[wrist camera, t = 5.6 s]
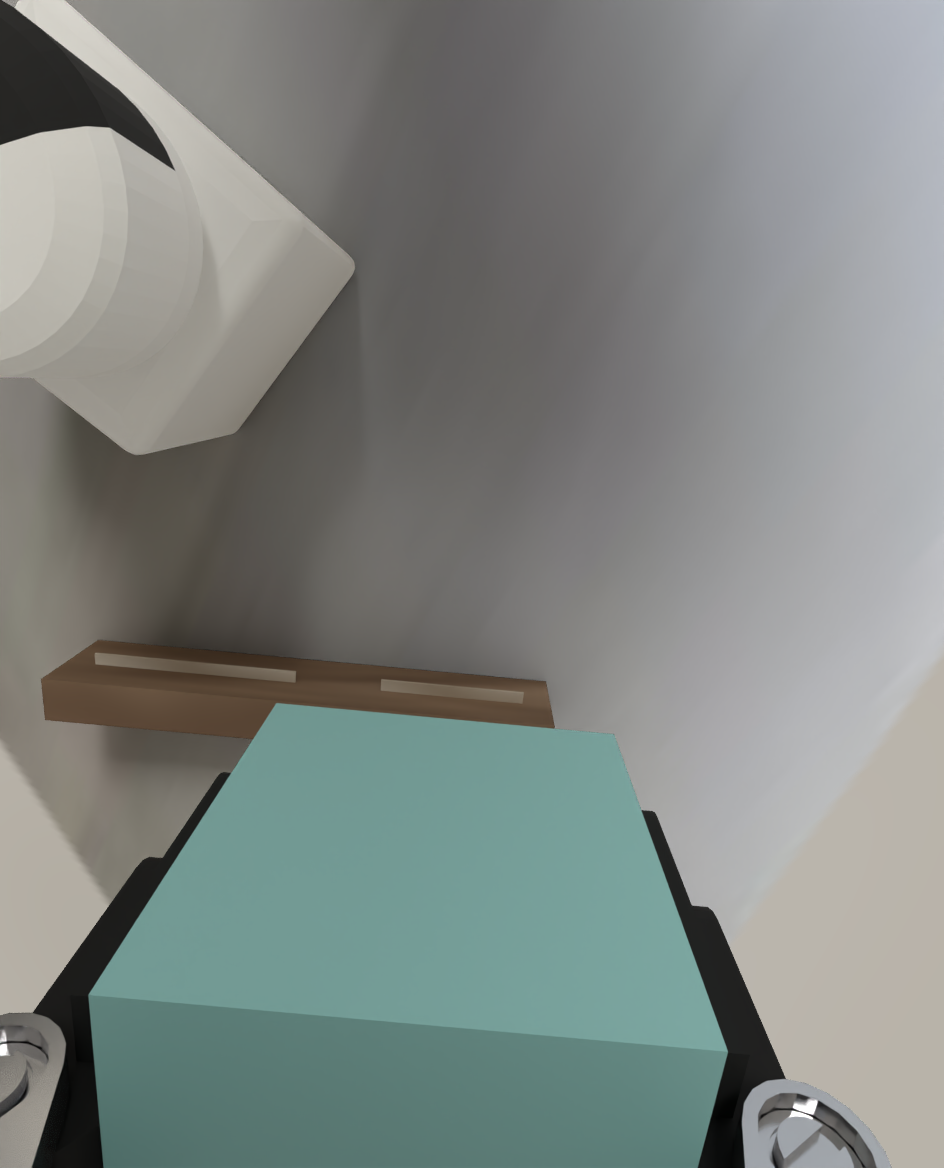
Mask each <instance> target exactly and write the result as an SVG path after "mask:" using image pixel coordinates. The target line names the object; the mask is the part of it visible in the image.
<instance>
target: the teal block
mask: <svg viewBox="0 0 944 1168" xmlns="http://www.w3.org/2000/svg"><path fill="white" fill-rule="evenodd" d="M88 996H89V1008H90V1019H91V1030H92V1042H93V1053H94V1065H95V1076H96V1087H97V1099H98V1110H99V1121H100V1133H101V1144H102V1155H103V1167H104V1168H698V1164H699V1160H700V1157H701V1153H702V1149H703V1145H704V1141H705V1138H706V1134H707V1130H708V1126H709V1122H710V1119H711V1115H712V1111H713V1107H714V1103H715V1100H716V1096H717V1092H718V1088H719V1084H720V1080H721V1077H722V1073H723V1069H724V1065H725V1061H726V1058H727V1054H728V1050H727V1047H726V1045H725V1042H724V1039H723V1036H722V1034H721V1031H720V1028H719V1025H718V1022H717V1020H716V1017H715V1014H714V1011H713V1009H712V1006H711V1003H710V1000H709V997H708V995H707V992H706V989H705V986H704V983H703V981H702V978H701V975H700V972H699V970H698V967H697V964H696V961H695V958H694V956H693V953H692V950H691V947H690V945H689V942H688V939H687V936H686V933H685V931H684V928H683V925H682V922H681V919H680V917H679V914H678V911H677V908H676V906H675V903H674V900H673V897H672V894H671V892H670V889H669V886H668V883H667V881H666V878H665V875H664V872H663V869H662V867H661V864H660V861H659V858H658V855H657V853H656V850H655V847H654V844H653V842H652V839H651V836H650V833H649V830H648V828H647V825H646V822H645V819H644V817H643V814H642V811H641V808H640V805H639V803H638V800H637V797H636V794H635V791H634V789H633V786H632V783H631V780H630V778H629V775H628V772H627V769H626V766H625V764H624V761H623V758H622V755H621V753H620V750H619V747H618V744H617V741H616V739H615V736H614V734H606V733H595V732H585V731H574V730H563V729H552V728H541V727H530V726H520V725H509V724H498V723H487V722H476V721H465V720H455V719H444V718H433V717H422V716H411V715H400V714H390V713H379V712H368V711H357V710H346V709H335V708H325V707H314V706H303V705H292V704H281V703H276V705H275V706H274V708H273V709H272V711H271V712H270V714H269V715H268V717H267V718H266V720H265V722H264V723H263V725H262V726H261V728H260V729H259V731H258V732H257V734H256V736H255V737H254V739H253V740H252V742H251V743H250V745H249V746H248V748H247V750H246V751H245V753H244V754H243V756H242V757H241V759H240V760H239V762H238V764H237V765H236V767H235V768H234V770H233V771H232V773H231V774H230V776H229V777H228V779H227V781H226V782H225V784H224V785H223V787H222V788H221V790H220V791H219V793H218V795H217V796H216V798H215V799H214V801H213V802H212V804H211V805H210V807H209V809H208V810H207V812H206V813H205V815H204V816H203V818H202V819H201V821H200V822H199V824H198V826H197V827H196V829H195V830H194V832H193V833H192V835H191V836H190V838H189V840H188V841H187V843H186V844H185V846H184V847H183V849H182V850H181V852H180V854H179V855H178V857H177V858H176V860H175V861H174V863H173V864H172V866H171V868H170V869H169V871H168V872H167V874H166V875H165V877H164V878H163V880H162V881H161V883H160V885H159V886H158V888H157V889H156V891H155V892H154V894H153V895H152V897H151V899H150V900H149V902H148V903H147V905H146V906H145V908H144V909H143V911H142V913H141V914H140V916H139V917H138V919H137V920H136V922H135V923H134V925H133V927H132V928H131V930H130V931H129V933H128V934H127V936H126V937H125V939H124V940H123V942H122V944H121V945H120V947H119V948H118V950H117V951H116V953H115V954H114V956H113V958H112V959H111V961H110V962H109V964H108V965H107V967H106V968H105V970H104V972H103V973H102V975H101V976H100V978H99V979H98V981H97V982H96V984H95V985H94V987H93V989H92V990H91V992H90V993H89V995H88Z"/></svg>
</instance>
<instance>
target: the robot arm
mask: <svg viewBox="0 0 944 1168" xmlns="http://www.w3.org/2000/svg"><path fill="white" fill-rule="evenodd" d="M230 774H231V773H226V772H223V773H220V774H219V776H218V777H217V778H216V780H215V781H214V783H213V784H212V786H211V787H210V789H209V790H208V791H207V793H206V794H205V796H204V797H203V799H202V800H201V802H200V803H199V805H198V806H197V808H196V809H195V811H194V812H193V814H192V815H191V817H190V818H189V820H188V821H187V823H186V824H185V826H184V827H183V829H182V830H181V832H180V833H179V834H178V836H177V837H176V839H175V840H174V842H173V843H172V845H171V846H170V848H169V849H168V851H167V852H166V854H165V855H164V857H163V858H155V857H148V858H146V859H144V860H143V861H142V862H141V863H140V864H139V865H138V866H137V867H136V869H135V870H134V872H133V873H132V874H131V876H130V877H129V879H128V880H127V881H126V883H125V884H124V886H123V887H122V888H121V890H120V891H119V893H118V894H117V895H116V897H115V898H114V900H113V901H112V902H111V904H110V905H109V907H108V908H107V909H106V911H105V912H104V914H103V915H102V916H101V918H100V919H99V921H98V922H97V923H96V925H95V926H94V928H93V929H92V930H91V932H90V933H89V935H88V936H87V938H86V939H85V940H84V942H83V943H82V944H81V946H80V947H79V949H78V950H77V951H76V953H75V954H74V956H73V957H72V958H71V960H70V961H69V963H68V964H67V965H66V967H65V968H64V970H63V971H62V973H61V974H60V975H59V977H58V978H57V979H56V981H55V982H54V984H53V985H52V987H51V988H50V989H49V991H48V992H47V993H46V995H45V996H44V998H43V999H42V1000H41V1002H40V1003H39V1005H38V1006H37V1007H36V1009H35V1010H34V1012H33V1013H8V1014H4V1015H0V1168H104V1167H103V1155H102V1144H101V1133H100V1121H99V1110H98V1099H97V1087H96V1076H95V1065H94V1053H93V1042H92V1030H91V1019H90V1008H89V996H88V995H89V993H90V992H91V990H92V989H93V987H94V985H95V984H96V982H97V981H98V979H99V978H100V976H101V975H102V973H103V972H104V970H105V968H106V967H107V965H108V964H109V962H110V961H111V959H112V958H113V956H114V954H115V953H116V951H117V950H118V948H119V947H120V945H121V944H122V942H123V940H124V939H125V937H126V936H127V934H128V933H129V931H130V930H131V928H132V927H133V925H134V923H135V922H136V920H137V919H138V917H139V916H140V914H141V913H142V911H143V909H144V908H145V906H146V905H147V903H148V902H149V900H150V899H151V897H152V895H153V894H154V892H155V891H156V889H157V888H158V886H159V885H160V883H161V881H162V880H163V878H164V877H165V875H166V874H167V872H168V871H169V869H170V868H171V866H172V864H173V863H174V861H175V860H176V858H177V857H178V855H179V854H180V852H181V850H182V849H183V847H184V846H185V844H186V843H187V841H188V840H189V838H190V836H191V835H192V833H193V832H194V830H195V829H196V827H197V826H198V824H199V822H200V821H201V819H202V818H203V816H204V815H205V813H206V812H207V810H208V809H209V807H210V805H211V804H212V802H213V801H214V799H215V798H216V796H217V795H218V793H219V791H220V790H221V788H222V787H223V785H224V784H225V782H226V781H227V779H228V777H229V776H230ZM641 811H642V814H643V817H644V819H645V822H646V825H647V828H648V830H649V833H650V836H651V839H652V842H653V844H654V847H655V850H656V853H657V855H658V858H659V861H660V864H661V867H662V869H663V872H664V875H665V878H666V881H667V883H668V886H669V889H670V892H671V894H672V897H673V900H674V903H675V906H676V908H677V911H678V914H679V917H680V919H681V922H682V925H683V928H684V931H685V933H686V936H687V939H688V942H689V945H690V947H691V950H692V953H693V956H694V958H695V961H696V964H697V967H698V970H699V972H700V975H701V978H702V981H703V983H704V986H705V989H706V992H707V995H708V997H709V1000H710V1003H711V1006H712V1009H713V1011H714V1014H715V1017H716V1020H717V1022H718V1025H719V1028H720V1031H721V1034H722V1036H723V1039H724V1042H725V1045H726V1047H727V1050H728V1054H727V1058H726V1061H725V1065H724V1069H723V1073H722V1077H721V1080H720V1084H719V1088H718V1092H717V1096H716V1100H715V1103H714V1107H713V1111H712V1115H711V1119H710V1122H709V1126H708V1130H707V1134H706V1138H705V1141H704V1145H703V1149H702V1153H701V1157H700V1160H699V1164H698V1168H892V1167H891V1165H890V1162H889V1160H888V1157H887V1155H886V1152H885V1151H884V1149H883V1148H882V1146H881V1145H880V1143H879V1142H878V1141H877V1139H876V1137H875V1136H874V1135H873V1133H872V1132H871V1130H870V1129H869V1128H868V1127H867V1126H866V1125H865V1124H864V1123H863V1122H862V1121H861V1120H860V1119H859V1118H858V1117H857V1116H856V1115H855V1114H854V1113H853V1112H852V1111H851V1110H850V1109H849V1108H848V1107H847V1106H845V1105H844V1104H842V1103H841V1102H839V1101H838V1100H836V1099H835V1098H834V1097H832V1096H831V1095H830V1094H828V1093H826V1092H824V1091H821V1090H819V1089H817V1088H815V1087H813V1086H811V1085H809V1084H806V1083H802V1082H797V1081H792V1080H787V1079H786V1078H785V1076H784V1073H783V1071H782V1069H781V1066H780V1064H779V1062H778V1059H777V1057H776V1055H775V1052H774V1050H773V1048H772V1045H771V1043H770V1041H769V1039H768V1036H767V1034H766V1031H765V1029H764V1027H763V1024H762V1022H761V1020H760V1018H759V1015H758V1013H757V1011H756V1008H755V1006H754V1004H753V1001H752V999H751V996H750V994H749V992H748V989H747V987H746V985H745V982H744V980H743V978H742V975H741V973H740V971H739V968H738V966H737V964H736V961H735V959H734V957H733V954H732V952H731V950H730V947H729V945H728V943H727V940H726V938H725V936H724V933H723V931H722V929H721V926H720V924H719V922H718V919H717V918H716V916H715V914H714V912H713V911H712V910H711V909H709V908H708V907H700V906H692V905H691V902H690V900H689V897H688V895H687V892H686V890H685V887H684V885H683V882H682V879H681V877H680V874H679V872H678V869H677V867H676V864H675V861H674V859H673V856H672V854H671V851H670V849H669V846H668V844H667V841H666V838H665V836H664V833H663V831H662V828H661V826H660V823H659V821H658V818H657V816H656V814H655V812H653V811H644V810H641Z"/></svg>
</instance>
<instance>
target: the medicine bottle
mask: <svg viewBox="0 0 944 1168" xmlns="http://www.w3.org/2000/svg"><path fill="white" fill-rule="evenodd" d="M354 270H355V264H354V261H353V259H352V258H351V256H349V255H348V254H347V253H346V252H345V251H344V250H343V249H342V248H341V247H339V246H338V245H337V244H336V243H335V242H334V241H333V240H332V239H331V238H329V237H328V236H327V235H326V234H325V233H324V232H323V231H322V230H321V229H319V228H318V227H317V226H316V225H315V224H314V223H313V222H312V221H311V220H309V219H308V218H307V217H306V216H305V215H304V214H303V213H302V212H300V211H299V210H298V209H297V208H296V207H295V206H294V205H293V204H292V203H290V202H289V201H288V200H287V199H286V198H285V197H284V196H283V195H282V194H280V193H279V192H278V191H277V190H276V189H275V188H274V187H273V186H272V185H270V184H269V183H268V182H267V181H266V180H265V179H264V178H263V177H262V176H260V175H259V174H258V173H257V172H256V171H255V170H254V169H253V168H252V167H250V166H249V165H248V164H247V163H246V162H245V161H244V160H243V159H242V158H240V157H239V156H238V155H237V154H236V153H235V152H234V151H233V150H231V149H230V148H229V147H228V146H227V145H226V144H225V143H224V142H223V141H221V140H220V139H219V138H218V137H217V136H216V135H215V134H214V133H213V132H211V131H210V130H209V129H208V128H207V127H206V126H205V125H204V124H203V123H201V122H200V121H199V120H198V119H197V118H196V117H195V116H194V115H193V114H191V113H190V112H189V111H188V110H187V109H186V108H185V107H184V106H183V105H181V104H180V103H179V102H178V101H177V100H176V99H175V98H174V97H172V96H171V95H170V94H169V93H168V92H167V91H166V90H165V89H163V88H162V87H161V86H160V85H159V84H158V83H157V82H156V81H155V80H153V79H152V78H151V77H150V76H149V75H148V74H147V73H146V72H144V71H143V70H142V69H141V68H140V67H139V66H138V65H137V64H135V63H134V62H133V61H132V60H131V59H130V58H129V57H128V56H127V55H125V54H124V53H123V52H122V51H121V50H120V49H119V48H118V47H116V46H115V45H114V44H113V43H112V42H111V41H110V40H109V39H108V38H106V37H105V36H104V35H103V34H102V33H101V32H100V31H99V30H97V29H96V28H95V27H94V26H93V25H92V24H91V23H90V22H88V21H87V20H86V19H85V18H84V17H83V16H82V15H81V14H80V13H78V12H77V11H76V10H75V9H74V8H73V7H72V6H71V5H69V4H68V3H67V2H66V1H65V0H19V1H18V3H17V5H16V7H15V8H14V7H12V6H10V5H9V4H7V3H5V2H3V1H2V0H0V378H33V379H34V380H36V381H37V382H38V383H39V384H41V385H42V386H43V387H45V388H46V389H47V390H48V391H50V392H51V393H52V394H54V395H55V396H56V397H57V398H59V399H60V400H61V401H63V402H64V403H65V404H66V405H68V406H69V407H70V408H72V409H73V410H74V411H75V412H77V413H78V414H79V415H81V416H82V417H83V418H84V419H86V420H87V421H88V422H89V423H91V424H92V425H93V426H95V427H96V428H97V429H98V430H100V431H101V432H102V433H104V434H105V435H106V436H107V437H109V438H110V439H111V440H113V441H114V442H115V443H116V444H118V445H119V446H120V447H122V448H123V449H124V450H125V451H127V452H129V453H132V454H134V455H144V454H148V453H152V452H157V451H161V450H166V449H170V448H174V447H179V446H183V445H187V444H192V443H196V442H201V441H205V440H209V439H214V438H218V437H222V436H227V435H231V434H234V433H235V432H237V431H238V430H239V428H240V427H241V426H242V424H243V423H244V421H245V420H246V419H247V417H248V416H249V415H250V413H251V412H252V411H253V409H254V408H255V407H256V405H257V404H258V402H259V401H260V400H261V398H262V397H263V396H264V394H265V393H266V392H267V390H268V389H269V388H270V386H271V385H272V383H273V382H274V381H275V379H276V378H277V377H278V375H279V374H280V373H281V371H282V370H283V369H284V367H285V366H286V364H287V363H288V362H289V360H290V359H291V358H292V356H293V355H294V354H295V352H296V351H297V350H298V348H299V347H300V346H301V344H302V343H303V341H304V340H305V339H306V337H307V336H308V335H309V333H310V332H311V331H312V329H313V328H314V327H315V325H316V324H317V322H318V321H319V320H320V318H321V317H322V316H323V314H324V313H325V312H326V310H327V309H328V308H329V306H330V305H331V303H332V302H333V301H334V299H335V298H336V297H337V295H338V294H339V293H340V291H341V290H342V289H343V287H344V286H345V284H346V283H347V282H348V280H349V279H350V278H351V276H352V275H353V273H354Z"/></svg>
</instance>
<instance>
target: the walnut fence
mask: <svg viewBox="0 0 944 1168" xmlns="http://www.w3.org/2000/svg"><path fill="white" fill-rule="evenodd" d="M41 683H42V693H43V704H44V714H45V720H51V721H62V722H73V723H84V724H95V725H106V726H117V727H128V728H139V729H150V730H160V731H171V732H182V733H193V734H204V735H215V736H226V737H237V738H248V739H254V737H255V736H256V734H257V732H258V731H259V729H260V728H261V726H262V725H263V723H264V722H265V720H266V718H267V717H268V715H269V714H270V712H271V711H272V709H273V708H274V706H275V705H276V703H281V704H292V705H303V706H314V707H325V708H335V709H346V710H357V711H368V712H379V713H390V714H400V715H411V716H422V717H433V718H444V719H455V720H465V721H476V722H487V723H498V724H509V725H520V726H530V727H541V728H552V729H554V728H555V726H554V720H553V715H552V710H551V705H550V700H549V695H548V690H547V685H546V682H545V681H534V680H524V679H513V678H502V677H491V676H480V675H470V674H459V673H448V672H437V671H427V670H416V669H405V668H394V667H383V666H373V665H362V664H351V663H340V662H329V661H319V660H308V659H297V658H286V657H276V656H265V655H254V654H243V653H232V652H222V651H211V650H200V649H189V648H179V647H168V646H157V645H146V644H135V643H125V642H114V641H103V640H98V641H96V642H95V643H93V644H92V645H90V646H89V647H88V648H86V649H85V650H83V651H82V652H80V653H79V654H77V655H76V656H74V657H73V658H71V659H70V660H68V661H67V662H66V663H64V664H63V665H61V666H60V667H58V668H57V669H55V670H54V671H52V672H51V673H49V674H48V675H46V676H45V677H43V678H42V679H41Z"/></svg>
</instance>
